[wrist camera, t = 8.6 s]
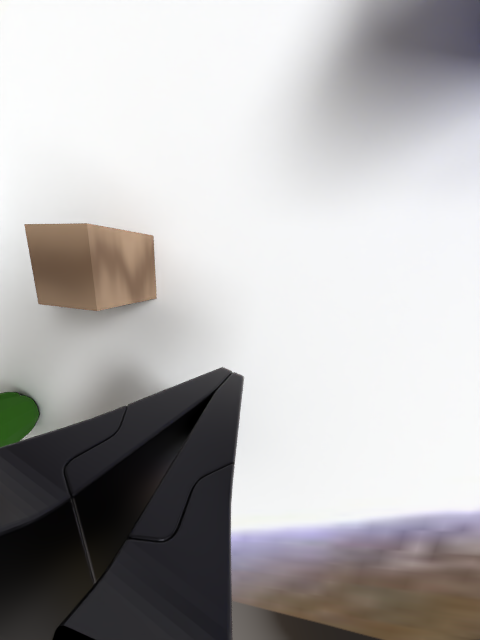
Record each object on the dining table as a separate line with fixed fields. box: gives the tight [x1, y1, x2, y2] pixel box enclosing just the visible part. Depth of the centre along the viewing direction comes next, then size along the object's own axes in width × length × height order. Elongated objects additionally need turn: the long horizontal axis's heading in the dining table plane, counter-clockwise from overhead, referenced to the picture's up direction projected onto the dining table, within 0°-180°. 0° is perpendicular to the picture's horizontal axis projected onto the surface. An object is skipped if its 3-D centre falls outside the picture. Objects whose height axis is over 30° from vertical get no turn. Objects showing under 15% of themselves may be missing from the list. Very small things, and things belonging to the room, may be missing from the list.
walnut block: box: [24, 223, 157, 311], centre depth 20 cm, size 6×6×7 cm
